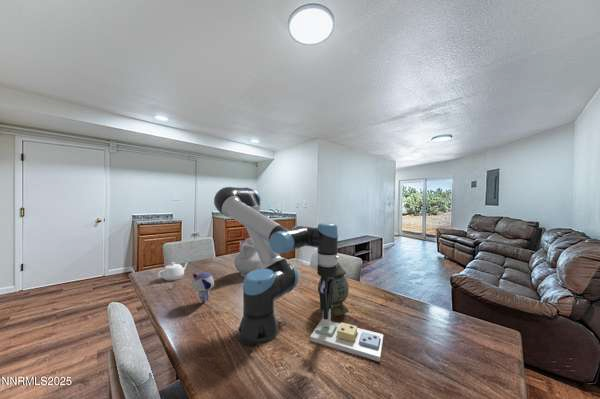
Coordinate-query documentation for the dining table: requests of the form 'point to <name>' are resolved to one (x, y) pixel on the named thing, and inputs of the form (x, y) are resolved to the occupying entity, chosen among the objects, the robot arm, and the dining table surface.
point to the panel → (349, 343)
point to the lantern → (339, 292)
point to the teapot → (172, 272)
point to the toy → (203, 285)
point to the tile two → (347, 332)
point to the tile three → (370, 340)
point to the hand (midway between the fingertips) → (326, 325)
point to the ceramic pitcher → (247, 258)
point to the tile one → (326, 329)
